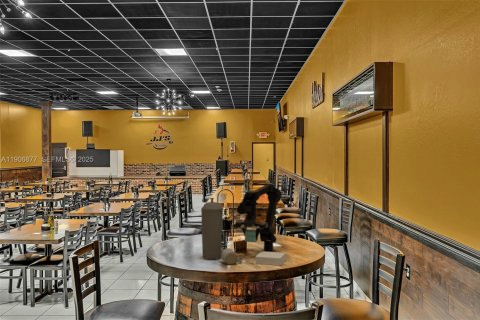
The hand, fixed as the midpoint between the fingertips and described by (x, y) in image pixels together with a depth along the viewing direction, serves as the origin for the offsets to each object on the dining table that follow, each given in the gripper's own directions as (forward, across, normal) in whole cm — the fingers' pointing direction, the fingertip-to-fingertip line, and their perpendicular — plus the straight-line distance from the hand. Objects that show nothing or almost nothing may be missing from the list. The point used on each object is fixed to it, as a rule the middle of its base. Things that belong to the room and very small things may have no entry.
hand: (251, 239), depth 254 cm
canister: (+10, -21, -10) cm, 25 cm away
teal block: (+1, 0, 0) cm, 1 cm away
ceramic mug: (+11, -6, -18) cm, 22 cm away
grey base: (+10, +14, -9) cm, 20 cm away
